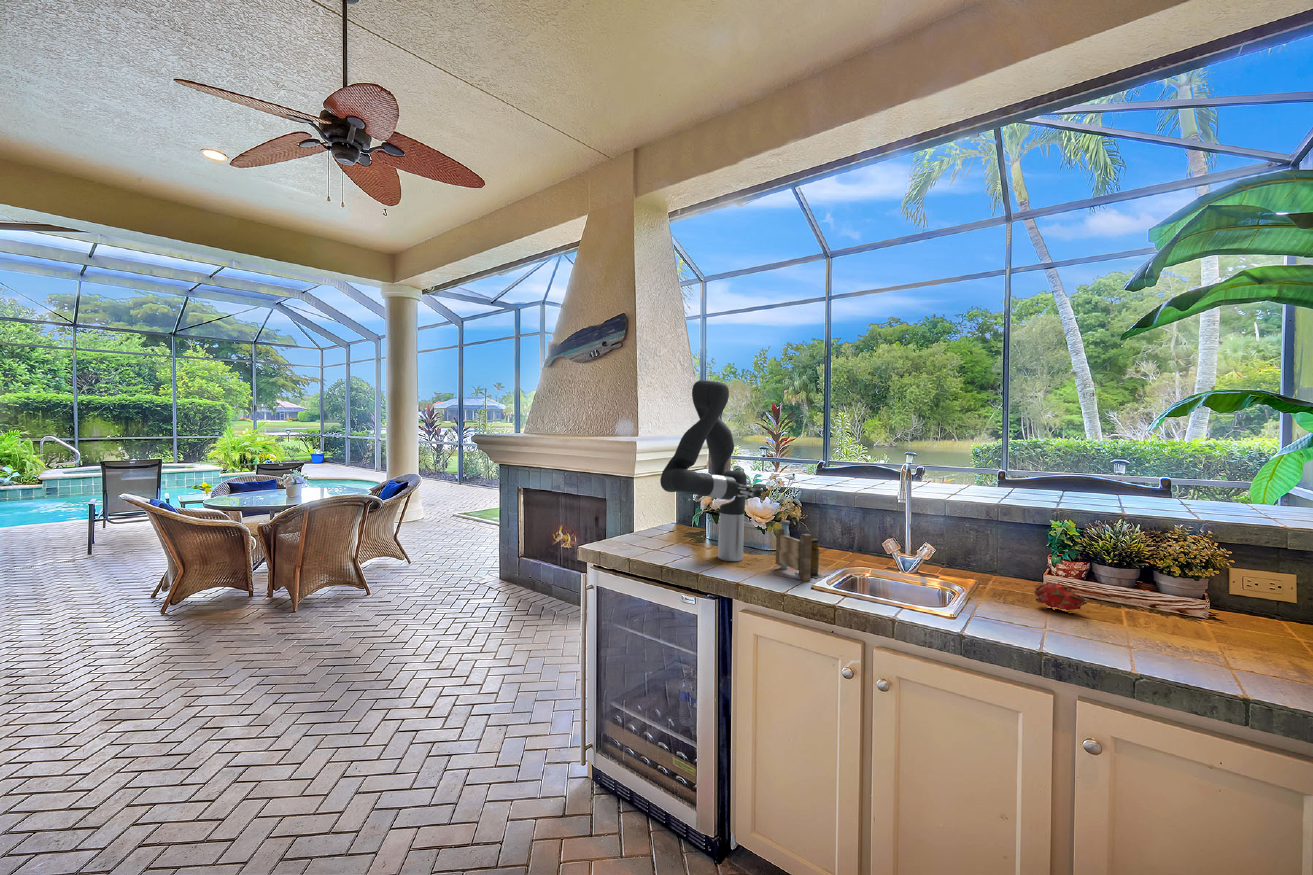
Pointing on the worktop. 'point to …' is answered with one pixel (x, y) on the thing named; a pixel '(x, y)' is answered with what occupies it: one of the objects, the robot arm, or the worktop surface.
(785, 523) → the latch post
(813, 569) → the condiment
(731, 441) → the robot arm
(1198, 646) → the worktop surface
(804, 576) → the hinge post
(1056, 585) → the dragon fruit
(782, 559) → the gate
